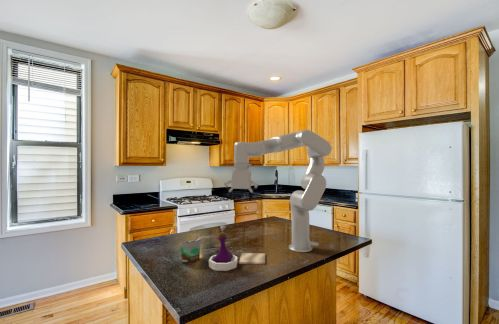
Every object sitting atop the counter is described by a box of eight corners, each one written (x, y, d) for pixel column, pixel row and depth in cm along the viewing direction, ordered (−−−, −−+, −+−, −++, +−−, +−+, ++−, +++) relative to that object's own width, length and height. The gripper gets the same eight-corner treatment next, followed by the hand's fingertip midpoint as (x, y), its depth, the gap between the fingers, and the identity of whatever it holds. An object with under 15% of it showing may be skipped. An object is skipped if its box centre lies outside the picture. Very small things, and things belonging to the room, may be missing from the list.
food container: (189, 266, 115) (189, 244, 115) (179, 263, 119) (179, 242, 119) (207, 258, 126) (207, 237, 126) (198, 255, 129) (198, 235, 129)
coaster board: (265, 255, 130) (265, 253, 130) (264, 264, 118) (264, 262, 118) (241, 254, 131) (241, 252, 131) (239, 263, 119) (239, 262, 119)
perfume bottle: (228, 269, 113) (228, 228, 113) (212, 267, 114) (212, 227, 114) (233, 262, 120) (233, 224, 120) (218, 261, 122) (218, 223, 122)
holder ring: (238, 260, 123) (238, 254, 123) (235, 271, 110) (235, 264, 111) (212, 259, 124) (212, 253, 124) (206, 270, 111) (206, 263, 111)
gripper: (258, 166, 133) (258, 199, 133) (225, 166, 135) (225, 198, 135) (257, 166, 126) (257, 201, 125) (223, 166, 127) (222, 200, 127)
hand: (240, 200), depth 130 cm, fingers open, 9 cm apart
